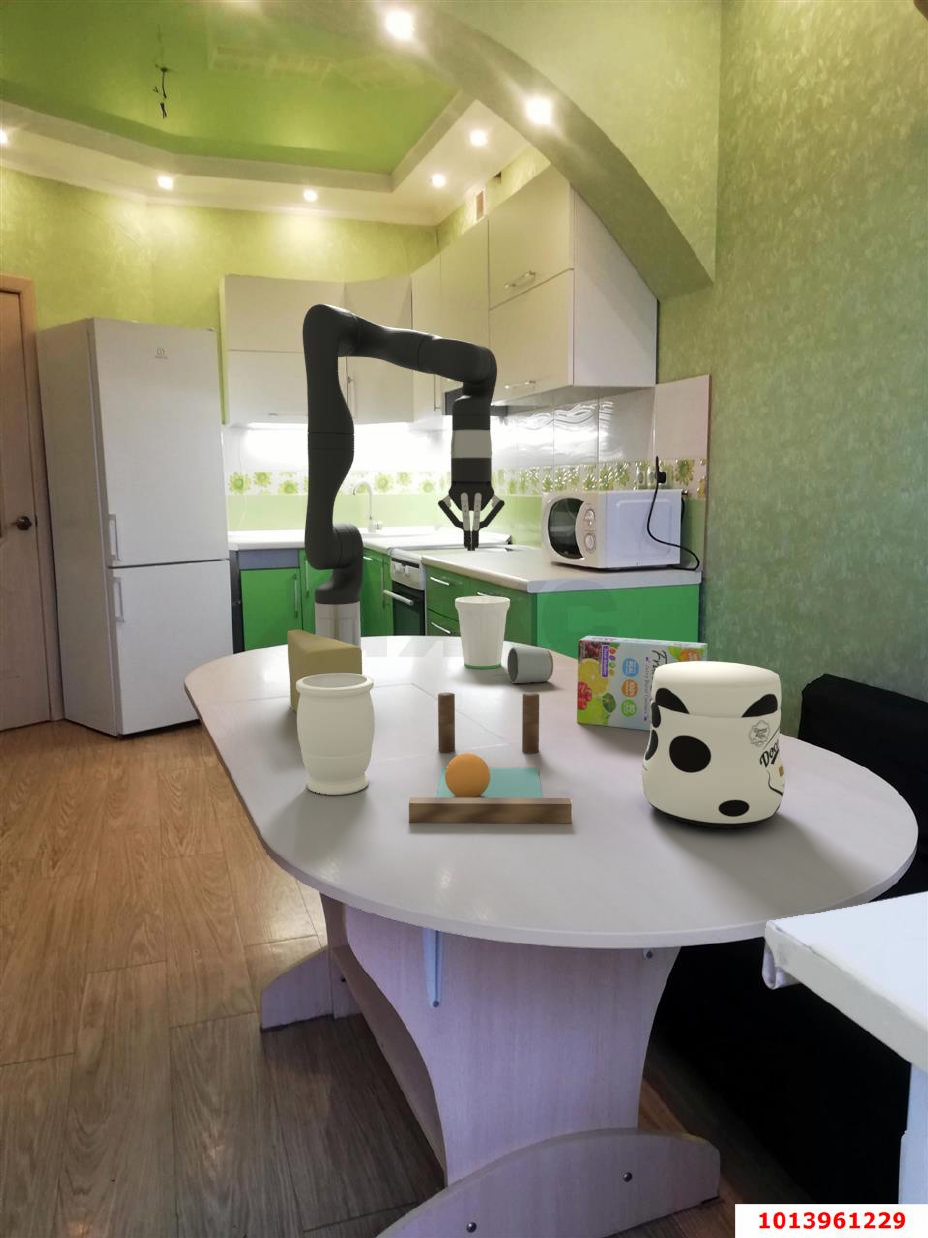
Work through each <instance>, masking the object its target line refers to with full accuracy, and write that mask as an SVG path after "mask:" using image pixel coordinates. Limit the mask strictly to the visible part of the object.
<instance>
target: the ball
mask: <svg viewBox="0 0 928 1238" xmlns="http://www.w3.org/2000/svg"><path fill="white" fill-rule="evenodd" d="M445 768H446V772H445V781H446V785H447V787H448V789H449V790H450V791H451V793H453V794H454V795H455V796H457V797H459V798H477V797H479V796H480V795H482V794H483V793H484V792H485V790H486V789H487V787H488V785H489V782H490V771H489V766H488V763H486V761H485V760H484V759H483V758H482V757H481V756H479V755H477V754H475V753H469V752H467V753H462V754H459V755H456V756H454V757H453V759H451V760H450V761H449V763H448V764H447V766H446V767H445Z"/></svg>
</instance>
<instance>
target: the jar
mask: <svg viewBox="0 0 928 1238" xmlns="http://www.w3.org/2000/svg"><path fill="white" fill-rule="evenodd" d="M374 681H375V680H374V678H373V677H371V676H369V675H364V674H362V675H360V674H350V673H331V674H320V675H313V676H308V677H305V678H302V679H300V680H298V681H297V682H296V689H297V691H298V692H299V693H300V698H299V702H298V709H297V713H296V729H297V731H296V732H297V738H298V743H299V746H300V751H301V757H302V761H303V765H304V767H305V769H306V771H307V773H308V775H309V776H310V777H308V779H307V780H306V781H307V782H306V787H307V789H308V790H310V791H311V792H313V793H315V792H316V793H315V794H319V793H320V794H319V795H325V794H326V796H343V795H350V794H354V793H357V792H360V791H362V790H364V789H365V788H367V786H368V785H369V778H368V776H367V775H366V774H365V773H366V772H367V769H368V767H369V764H370V762H371V758H372V753H373V752H372V751H373V744H374V737H375V731H376V730H375V727H376V725H375V724H376V722H375V721H376V718H375V717H376V716H375V715H376V714H375V709H374V703H373V699H372V695H371V690H372V689H373V688H374V685H375V683H374Z"/></svg>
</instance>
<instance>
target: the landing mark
mask: <svg viewBox="0 0 928 1238" xmlns="http://www.w3.org/2000/svg"><path fill="white" fill-rule="evenodd" d="M446 768H447V767H441V768H440V774H439V780H438V787H437V793H436V794H437V795H436V797H457V796H455V795H454V794H453V793H451V791H450V790H449V789H448V787H447V785H446V781H445V772H446ZM488 768H489V767H488ZM489 771H490V782H489V785H488V787H487V789H486V790H485V792H484V793H483V794H482V795H480V796H479V797H477V798H543V794H542V793H543V792H542V789H541V784H540V783H541V782H540V777H539V772H538V768H536V767H535V768H534V767H533V768H531V767H527V768H526V767H525V768H524V767H523V768H522V767H519V768H516V767H515V768H513V767H512V768H511V767H509V768H508V767H507V768H506V767H503V768H502V767H498V768H497V767H490V768H489ZM458 798H459V797H458Z"/></svg>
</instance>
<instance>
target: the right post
mask: <svg viewBox="0 0 928 1238" xmlns="http://www.w3.org/2000/svg"><path fill="white" fill-rule="evenodd" d="M521 703H522V708H521V709H522V713H521V714H522V723H521V724H522V725H521V726H522V729H521V731H522V733H521V734H522V735H521V736H522V739H521V741H522V744H521V745H522V747H521V749H522V752H523V753H526V754H536V753H539V751H540V694H539V693H537V692H525V693H522V702H521Z"/></svg>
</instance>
